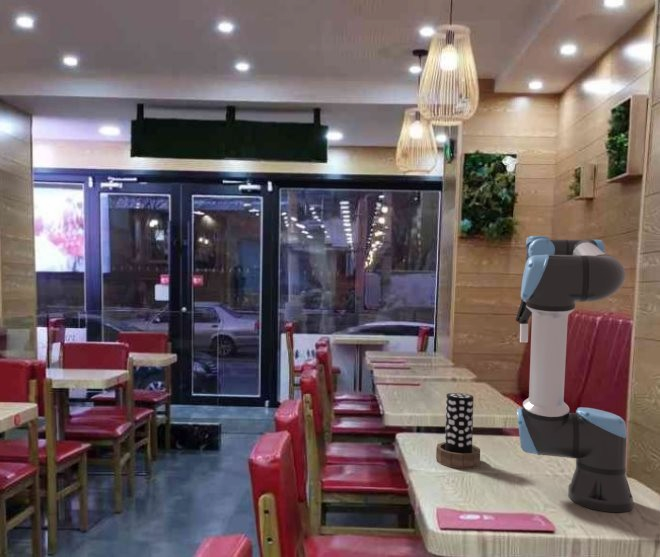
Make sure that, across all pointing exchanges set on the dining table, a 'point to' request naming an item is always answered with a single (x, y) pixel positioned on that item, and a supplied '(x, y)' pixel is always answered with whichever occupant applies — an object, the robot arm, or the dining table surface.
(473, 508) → the dining table surface
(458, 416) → the white-spotted black cylinder
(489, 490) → the dining table surface
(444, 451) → the holder
